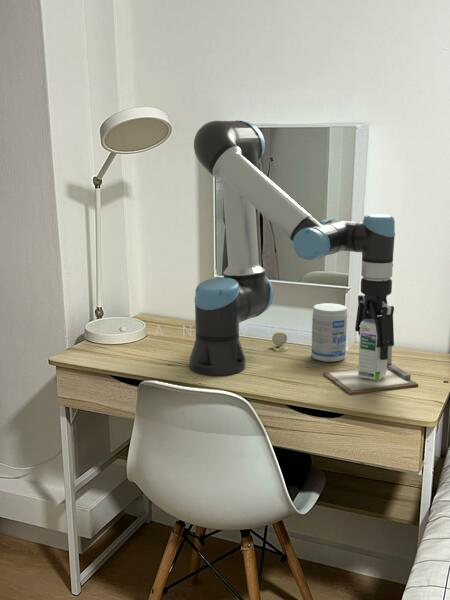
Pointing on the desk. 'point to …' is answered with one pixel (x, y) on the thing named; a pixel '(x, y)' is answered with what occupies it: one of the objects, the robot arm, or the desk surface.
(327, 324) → the supplement tub
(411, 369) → the desk surface
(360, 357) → the syrup box
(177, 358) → the desk surface
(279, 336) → the eyeshadow
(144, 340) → the desk surface
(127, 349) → the desk surface
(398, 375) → the clipboard
